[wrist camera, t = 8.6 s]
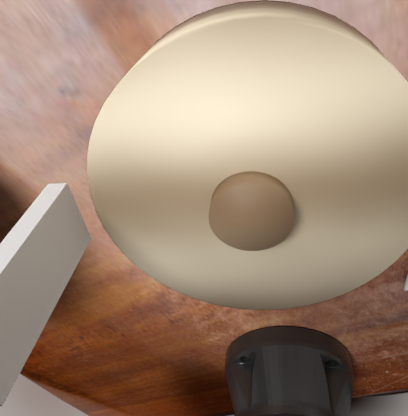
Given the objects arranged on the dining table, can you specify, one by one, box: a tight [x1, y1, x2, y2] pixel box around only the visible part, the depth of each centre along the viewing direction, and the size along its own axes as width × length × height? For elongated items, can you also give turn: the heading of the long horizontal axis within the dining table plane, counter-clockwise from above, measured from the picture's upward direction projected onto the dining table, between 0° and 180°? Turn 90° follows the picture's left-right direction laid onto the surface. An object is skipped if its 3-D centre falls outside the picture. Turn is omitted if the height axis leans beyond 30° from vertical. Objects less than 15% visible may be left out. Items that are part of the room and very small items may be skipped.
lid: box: [87, 0, 408, 310], centre depth 14 cm, size 12×12×4 cm
